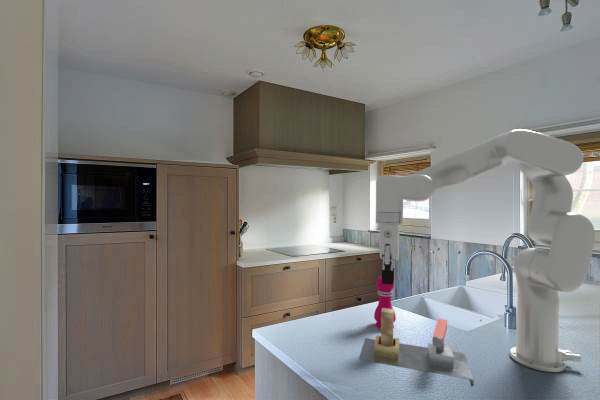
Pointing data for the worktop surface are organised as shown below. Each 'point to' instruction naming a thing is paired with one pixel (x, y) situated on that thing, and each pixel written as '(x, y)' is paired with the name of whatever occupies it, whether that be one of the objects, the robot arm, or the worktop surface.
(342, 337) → the worktop surface
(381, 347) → the holed wooden block
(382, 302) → the pepper mill
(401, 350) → the board
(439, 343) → the orange and grey block
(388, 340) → the peg
